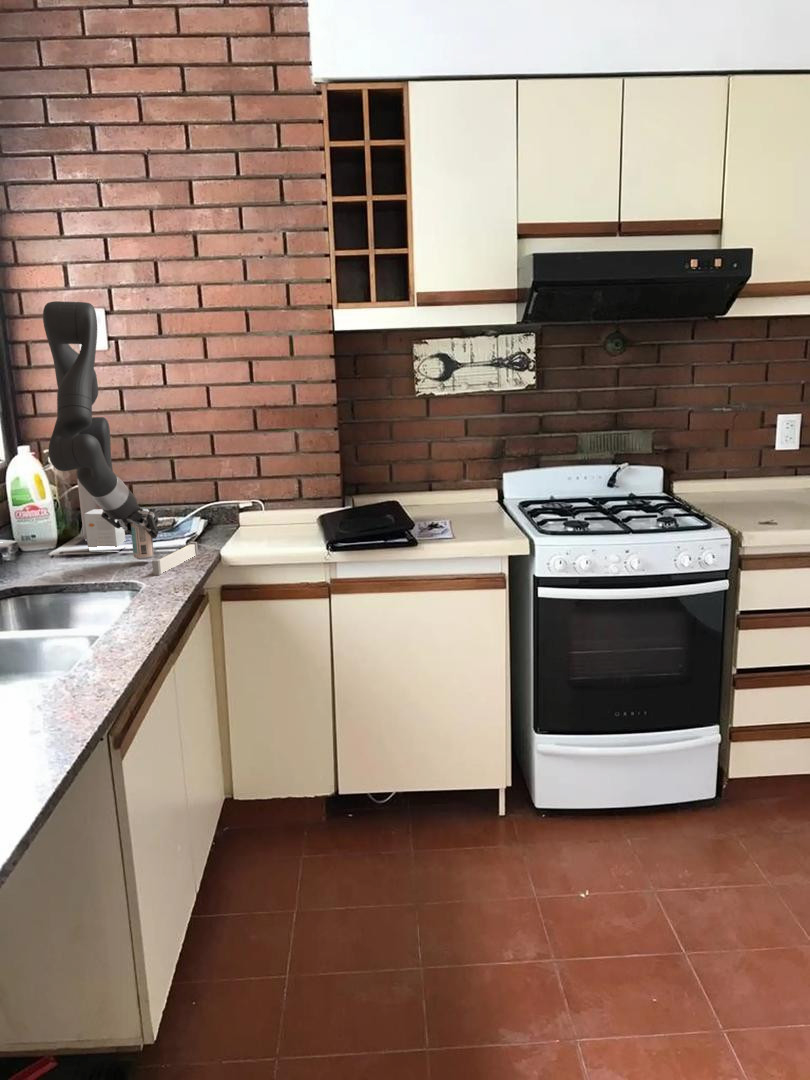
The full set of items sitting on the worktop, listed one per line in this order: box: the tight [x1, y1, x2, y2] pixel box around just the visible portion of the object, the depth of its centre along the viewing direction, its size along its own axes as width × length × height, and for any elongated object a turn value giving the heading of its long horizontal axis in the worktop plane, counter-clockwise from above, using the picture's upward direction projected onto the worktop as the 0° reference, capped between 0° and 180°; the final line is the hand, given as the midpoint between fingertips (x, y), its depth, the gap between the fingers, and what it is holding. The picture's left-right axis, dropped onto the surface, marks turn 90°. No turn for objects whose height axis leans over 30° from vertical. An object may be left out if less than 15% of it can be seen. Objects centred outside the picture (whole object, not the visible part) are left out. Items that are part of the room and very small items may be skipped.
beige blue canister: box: [130, 507, 155, 560], centre depth 207 cm, size 5×5×12 cm
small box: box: [84, 509, 127, 548], centre depth 220 cm, size 8×6×10 cm
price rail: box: [151, 541, 199, 576], centre depth 206 cm, size 18×2×3 cm, turn 165°
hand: (146, 534), depth 209 cm, fingers closed on beige blue canister, 4 cm apart
